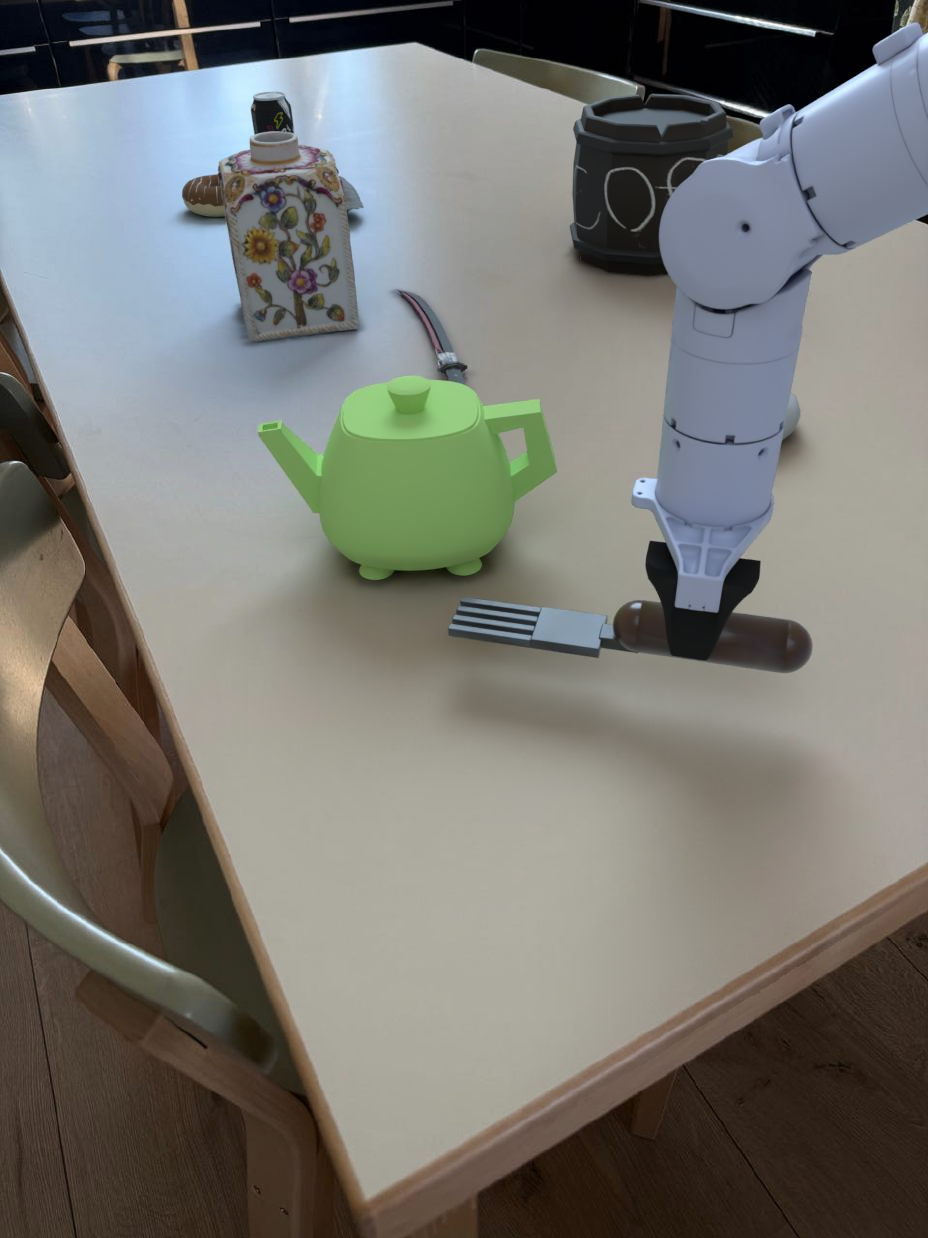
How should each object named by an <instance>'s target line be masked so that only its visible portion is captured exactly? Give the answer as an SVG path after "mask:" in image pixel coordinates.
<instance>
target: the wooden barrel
mask: <svg viewBox="0 0 928 1238" xmlns="http://www.w3.org/2000/svg"><path fill="white" fill-rule="evenodd" d="M572 130H573V134H574V138H575V142H576V143H575V149H574V157H573V164H572V165H573V166H572V167H573V168H572V192H571V195H572V209H573V210H572V211H573V223H571V224H570V225H569V230H570V234H571V240H572V244H573V249H574V250H576V251H578V253H579V258H580V262H582V263H584V264H586V265H589V266H591V267H593V268H596V269H599V270H602V271H604V272H607V273H610V274H621V275H634V276H645V277H653V276H660V275H667V274H668V272H667V270H666V268H665V266H664V263H663V260H662V256H661V252H660V246H659V228H660V222H661V217H662V214H663V211H664V208H665V206H666V204H667V202H668V200H669V198H670V197H671V195H672V194H673V192H674V191H675V190H676V189H677V187H678V186H679V185H680V184H681V183H682V182H684V181H685V180H686V179H687V178H688V177H690V176H691V175H692V174H693V173H694V171H695V170H696V168H697V167H698V166H699V165H700V164H701V163H703V162H705V161H707V160H710V159H714V158H718V157H723V156H725V155H727V154H729V153H728V150H729V149H728V148H729V141H730V140H733V138H734V132H733V128H732V126H731V125H730V123H728V121H727V112H726V110H724V109H723V107H722V106H721V105H720V103H719V102H718V101H716V100H710V99H705V98H702V97H696V96H691V95H686V94H664V93H663V94H662V93H661V94H660V93H651V94H649V96H648V97H647V99H646V101H645V102H644V101H643V99H642V96H641V95H640V94H630V95H621V96H620V95H619V96H610V97H605V98H603V99H600V100H597V101H595V102H592V103H590V104H589V103H588V104H587V105H585V106H583V108H582V112H581V116H580V118H579V119H576V120H575V121H574V124H573V127H572Z"/></svg>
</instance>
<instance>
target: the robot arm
mask: <svg viewBox="0 0 928 1238" xmlns="http://www.w3.org/2000/svg"><path fill="white" fill-rule="evenodd" d="M872 54H873V56H874V59H875V61H876V63H875V64H873V65H872V66H870V67H868V68H867V69H865V70H864V71H862V72H860V73H859V74H857V75H856V76H854V77H852V78H850V79H849V80H847V81H845V82H844V83H842V84H840V85H839V86H837V87H836V88H834V89H833V90H831V91H829V92H827V93H825V94H824V95H823V96H822V95H821V97H819V98H817V99H816V100H814V101H813V102H810V103H809V104H808V105H806V106H804V107H803V108H801V109H799V110H798V111H796V110H795V107H794V106H793V105H792V104H786V105H784V106H782V107H780V108H778V109H776V110H775V111H773V112H771V113H770V114H769V115H767V116H765V117H763V118H762V119H761V120H760V122H759V129H760V132H761V134H762V137H760V138H757V139H754V140H752V141H750V142H748V143H746V144H745V145H742V146H741V147H738V148H737V149H734V150H732V151H731V152H729V153H728V154H727V155H725V156H723V157H718V158H714V159H710V160H707V161H705V162H703V163H701V164H700V165H699V166H698V167H697V168H696V170H695V171H694V173H693V174H692V175H691V176H690V177H688V178H687V179H686V180H685V181H684V182H682V183H681V184H680V185H679V186H678V187H677V189H676V190H675V191H674V192H673V194H672V195H671V197H670V198H669V200H668V202H667V204H666V206H665V208H664V211H663V214H662V217H661V222H660V228H659V246H660V252H661V256H662V260H663V263H664V266H665V268H666V270H667V272H668V273H667V274H668V276H669V277H670V279H671V281H672V282H673V284H674V285H675V286H676V289H675V300H674V310H673V318H672V319H673V320H672V325H671V335H670V345H669V354H668V364H667V373H666V382H665V393H664V403H663V414H662V425H661V435H660V445H659V455H658V463H657V475H656V478H653V477H652V478H651V477H650V478H649V477H640V478H636V479H635V481H634V484H633V488H632V492H631V500H630V502H631V506H633V507H634V508H637V509H640V510H648V511H649V512H651V513H652V514H653V516H654V519H655V521H656V523H657V526H658V528H659V530H660V533H661V535H662V537H663V539H664V541H659V540H649V542H648V546H647V551H646V556H645V563H644V567H645V572H646V576H647V579H648V581H649V582H650V584H651V585H652V587H653V588H654V590H655V591H656V593H657V596H658V599H659V601H660V603H661V604H662V608H663V612H664V619H665V627H666V635H667V642H668V647H669V651H670V654H671V655H672V656H675V657H682V658H689V659H696V660H703V661H706V660H708V658H709V657H710V655H711V654H712V652H713V650H714V648H715V646H716V644H717V642H718V640H719V637H720V635H721V633H722V630H723V628H724V626H725V624H726V622H727V620H728V618H729V616H730V615H731V613H732V612H734V610H735V609H736V607H737V606H739V604H740V603H741V602H742V601H744V599H745V598H747V597H748V596H749V595H750V594H752V593H753V592H754V590H755V588H756V586H757V585H758V583H759V580H760V576H761V563H762V561H761V560H758V559H752V558H751V559H750V558H744V557H743V558H742V556H743V555H744V554H745V553H746V551H748V549H749V548H750V546H751V545H752V544H753V543H754V542H755V541H756V539H757V538H758V537H759V535H761V533H762V532H763V530H764V529H766V527H767V525H769V523H770V522H771V519H772V517H773V512H774V507H775V497H774V495H773V490H774V484H775V480H776V474H777V469H778V465H779V464H778V463H779V458H780V452H781V449H782V448H781V447H782V442H783V440H782V438H783V432H784V427H785V420H786V415H787V410H788V404H789V399H790V394H791V392H792V387H793V383H794V377H795V372H796V367H797V362H798V356H799V351H800V345H801V341H802V336H803V323H804V322H803V321H804V317H805V316H804V315H805V311H806V305H807V300H808V294H809V290H810V284H811V280H812V274H813V273H812V270H811V268H812V266H813V265H814V264H815V263H816V262H817V261H818V260H819V259H821V258H822V257H823V256H832V255H833V256H837V255H842V254H845V253H848V252H850V251H852V250H855V249H856V248H858V247H860V246H863V245H865V244H867V243H869V242H872V241H874V240H875V239H877V238H880V237H882V236H884V235H886V234H888V233H890V232H893V231H895V230H897V229H899V228H902V227H903V226H906V225H908V224H910V223H912V222H914V221H916V220H919V219H920V218H922V217H925V216H927V215H928V32H926V33H924V32H923V29H922V27H921V25H920V23H919V22H912V23H910V24H908V25H905V26H903V27H901V28H899V29H898V30H897V31H895V32H893V33H892V34H890V35H888V36H886V37H885V38H883V39H882V40H880V41H879V42H877V43H876V44H874V45H873V47H872Z"/></svg>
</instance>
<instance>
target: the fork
mask: <svg viewBox="0 0 928 1238" xmlns="http://www.w3.org/2000/svg"><path fill="white" fill-rule="evenodd" d="M608 617H609V616H608V615H606V614H600V613H592V612H584V611H578V610H570V609H563V608H555V607H549V606H541V607H540V606H539V607H538V606H533V605H525V604H517V603H509V602H505V601H504V602H503V601H495V600H488V599H481V598H473V597H467V596H461V598H460V600H459V605H458V606H457V608H456V610H455V614H453V617H452V619H451V623H450V624H449V626H448V627H447V634H448V635H447V636H448V637H451V638H452V637H453V638H460V639H466V640H474V641H480V642H486V643H493V644H499V645H506V646H513V647H522V648H526V649H527V648H528V649H534V650H541V651H546V652H547V651H549V652H554V653H560V654H561V653H562V654H567V655H575V656H580V657H588V658H594V659H598V658H600V654H601V650H602V649H604V650H605V649H606V650H613V651H619V652H624V653H625V652H626V653H633V654H639V653H640V654H647V655H653V656H654V655H655V656H660V657H668V658H675V659H680V660H681V659H682V660H689V661H694V662H703V663H709V664H717V665H721V666H722V665H723V666H729V667H737V668H743V669H749V670H757V671H764V672H769V673H770V672H771V673H777V674H790V673H794V672H797V671H799V670H801V669H802V668H803V667H804V666H805V665H807V663H808V662H809V660H810V658H811V657H812V655H813V639H812V637H811V635H810V633H809V631H808V629H807V628H805V627H804V626H803V625H802V624H801V623H799V622H797V621H795V620H792V619H787V618H779V617H773V616H766V615H765V616H764V615H757V614H750V613H743V612H736V611H733V612H732V613H731V615H730V616H729V618H728V620H727V622H726V624H725V626H724V628H723V630H722V633H721V635H720V637H719V640H718V642H717V644H716V646H715V648H714V650H713V652H712V654H711V655H710V657H709V658H708V660H706V661H703V660H696V659H689V658H682V657H675V656H672V655H671V654H670V651H669V647H668V642H667V635H666V627H665V619H664V612H663V608H662V604H661V601H660V602H659V601H652V600H645V599H635V600H631V601H628V602H626V603H624V604H622V606H620V607H619V609H618V610H617V611H616V613H615V615H614V617H613V620H612V624H609V623H608Z"/></svg>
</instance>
